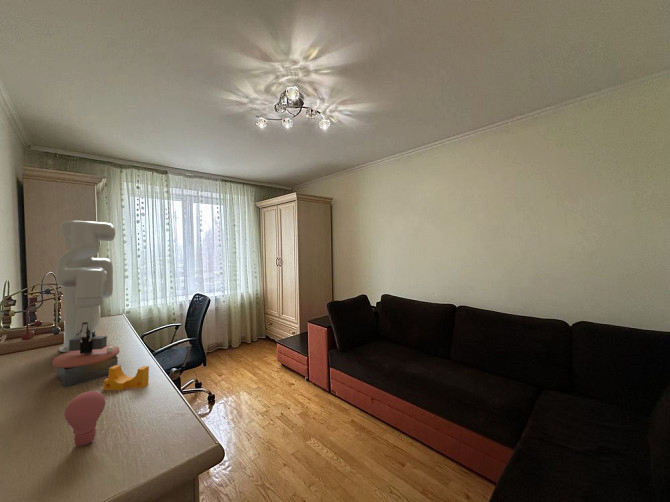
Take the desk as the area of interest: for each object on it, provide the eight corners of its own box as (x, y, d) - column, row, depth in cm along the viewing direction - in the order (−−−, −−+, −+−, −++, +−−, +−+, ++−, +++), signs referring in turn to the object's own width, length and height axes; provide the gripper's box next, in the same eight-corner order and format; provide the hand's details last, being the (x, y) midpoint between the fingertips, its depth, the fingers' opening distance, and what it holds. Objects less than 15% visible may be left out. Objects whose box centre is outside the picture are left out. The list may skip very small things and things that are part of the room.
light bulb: (82, 433, 66) (83, 386, 66) (111, 432, 67) (113, 385, 67) (54, 454, 59) (55, 402, 59) (88, 453, 60) (89, 401, 60)
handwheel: (37, 369, 86) (37, 348, 86) (76, 349, 104) (77, 332, 104) (101, 365, 91) (101, 344, 91) (128, 346, 108) (129, 329, 108)
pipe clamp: (103, 390, 87) (104, 370, 87) (115, 383, 91) (115, 365, 91) (138, 391, 86) (139, 371, 87) (148, 384, 91) (148, 366, 91)
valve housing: (57, 375, 96) (57, 359, 96) (106, 363, 107) (106, 348, 107) (64, 387, 87) (65, 370, 87) (117, 372, 99) (117, 357, 99)
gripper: (82, 298, 102) (81, 345, 102) (67, 306, 88) (66, 360, 88) (107, 297, 106) (106, 342, 106) (97, 304, 92) (95, 356, 92)
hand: (88, 350), depth 97 cm, fingers closed on handwheel, 4 cm apart
